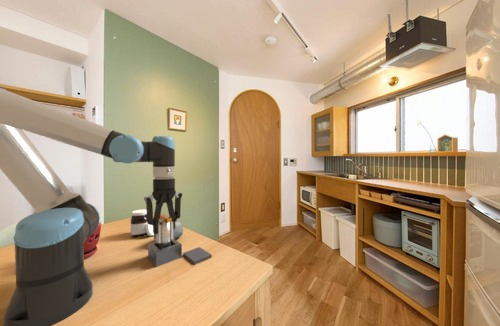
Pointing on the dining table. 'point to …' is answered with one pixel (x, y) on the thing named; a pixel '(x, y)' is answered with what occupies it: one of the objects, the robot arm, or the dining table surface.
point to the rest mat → (197, 255)
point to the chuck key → (165, 231)
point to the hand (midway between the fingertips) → (164, 239)
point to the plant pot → (92, 242)
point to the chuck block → (164, 252)
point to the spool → (175, 230)
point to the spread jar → (140, 224)
